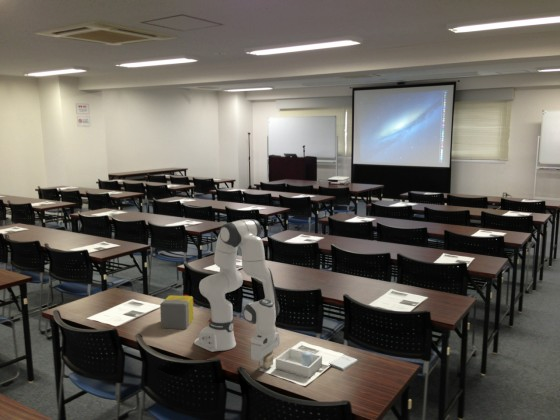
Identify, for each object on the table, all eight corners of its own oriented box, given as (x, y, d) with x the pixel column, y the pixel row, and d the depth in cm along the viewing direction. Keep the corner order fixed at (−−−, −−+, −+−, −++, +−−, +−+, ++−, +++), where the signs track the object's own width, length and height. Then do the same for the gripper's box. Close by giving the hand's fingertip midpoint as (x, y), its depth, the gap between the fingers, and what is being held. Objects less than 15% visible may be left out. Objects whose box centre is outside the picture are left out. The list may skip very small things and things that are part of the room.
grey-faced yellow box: (198, 314, 288) (197, 291, 285) (186, 329, 264) (185, 304, 262) (174, 313, 289) (174, 290, 287) (160, 328, 265) (159, 303, 263)
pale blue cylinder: (299, 368, 216) (299, 354, 215) (304, 364, 221) (304, 350, 220) (309, 371, 214) (309, 356, 213) (314, 366, 218) (314, 352, 217)
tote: (275, 368, 218) (275, 358, 217) (289, 357, 230) (289, 347, 229) (309, 378, 209) (309, 368, 209) (321, 366, 221) (322, 356, 220)
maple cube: (258, 365, 219) (258, 356, 218) (264, 361, 223) (264, 351, 222) (267, 368, 216) (267, 358, 216) (273, 364, 221) (273, 354, 220)
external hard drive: (328, 366, 222) (343, 357, 231) (342, 371, 217) (357, 362, 226) (328, 362, 222) (343, 354, 231) (343, 368, 217) (357, 359, 226)
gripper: (271, 325, 228) (271, 351, 230) (248, 340, 210) (248, 368, 213) (283, 328, 225) (282, 354, 227) (260, 343, 207) (259, 372, 209)
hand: (265, 361), depth 220 cm, fingers closed on maple cube, 5 cm apart
